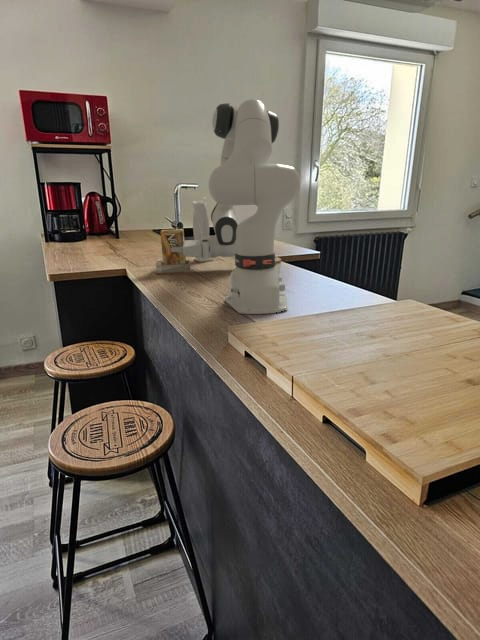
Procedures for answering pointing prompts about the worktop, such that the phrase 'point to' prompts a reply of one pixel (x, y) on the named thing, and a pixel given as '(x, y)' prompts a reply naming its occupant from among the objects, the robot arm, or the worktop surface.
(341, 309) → the worktop surface
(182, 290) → the worktop surface
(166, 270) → the channel
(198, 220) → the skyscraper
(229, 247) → the robot arm
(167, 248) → the candy box
